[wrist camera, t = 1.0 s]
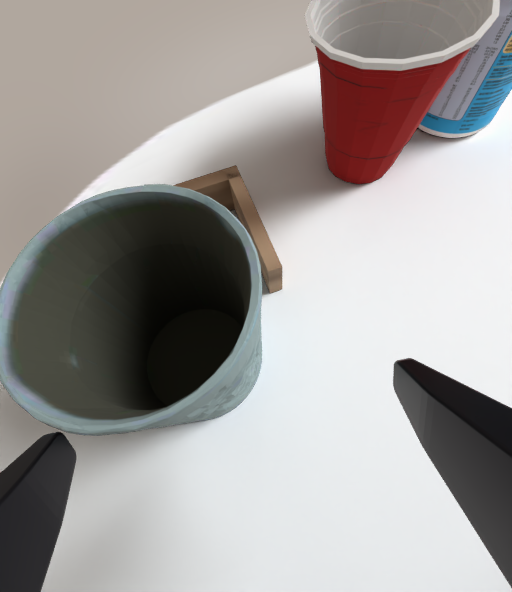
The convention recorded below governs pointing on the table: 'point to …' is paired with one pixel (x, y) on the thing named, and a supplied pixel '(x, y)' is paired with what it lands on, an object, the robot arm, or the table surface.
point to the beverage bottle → (475, 83)
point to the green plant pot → (133, 314)
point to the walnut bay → (241, 216)
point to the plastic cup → (386, 72)
